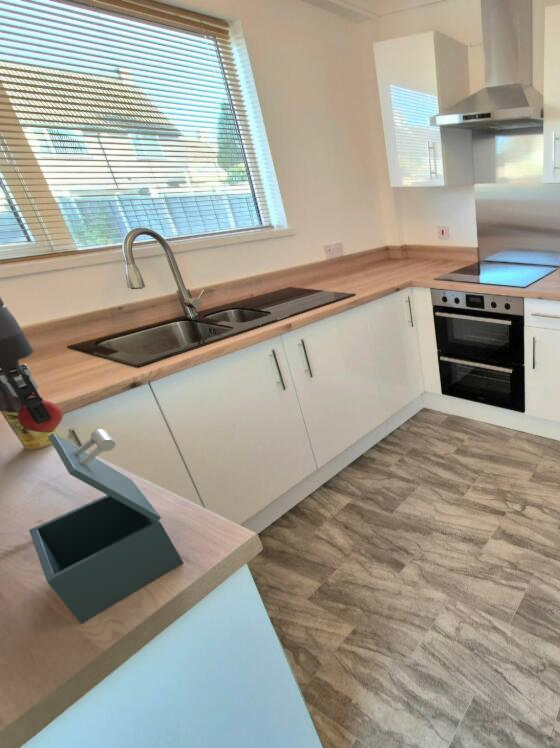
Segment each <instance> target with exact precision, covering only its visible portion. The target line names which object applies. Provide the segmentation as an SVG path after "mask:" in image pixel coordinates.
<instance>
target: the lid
mask: <svg viewBox="0 0 560 748" xmlns="http://www.w3.org/2000/svg"><path fill="white" fill-rule="evenodd" d="M48 437H49V439H50V441H51V442H52V446H53V448H54V450H55V451H56V453H57V454H58V457H59V459H60V460H61V462H62V463H63V465H64V467H65V469H66V470H67V473H68V474H69V475H70V476H72V477H73V478H75V479H77V480H79V481H81V482H83V483H85V484H86V485H88V486H90V487H92V488H94V489H96V490H97V491H99V492H101V493H103V494H104V495H105V496H106V495H108V496H110V497H112V498H114V499H116V500H117V501H119V502H121V503H123V504H125V505H126V506H128V507H130V508H132V509H134V510H135V511H137V512H139V513H141V514H143V515H145V516H146V517H148V518H150V519H152V520H154V521H155V522H157V521H160V520H161V519H162V517H161V516H160V513H158V511H157V510H156V509H155V508H154V506H153V505H152V504H151V502H150V501H149V500H148V499H147V497H146V496H145V495H144V493H143V492H142V490H140V488H139V487H138V486H137V484H136V483H135V482H134V480H132V479H131V478H129V477H127V476H126V475H125V474H123V473H121V472H120V471H118V470H116V469H114V468H113V467H111V466H109V465H108V464H107V463H105V462H103V461H101V460H100V459H98V458H96V457H97V456H99V455H100V454H101V453H103V452H109V451H112V450H114V449H115V448H116V444H117V443H116V441H115V440H114V439H113V437H111V435H110V434H109V433H108V432H107V430H106V429H102V428H99V429H95V430H93V431H92V432H91V434H90V438H89V439H88V440H87V441H85V442H84V443H83V444H81V445H80V446H76V445H75V444H73V443H72V442H70V441H68V440H67V439H65V438H63V437H62V436H61V437H60V436H58V435H57V434H55V433H53V434H51V435H50V436H48ZM94 445H96V446H97V447H96V448H94V449H93V450H92V451H90V452H89V453H88V452H86V451H87V450H89V449H90V448H91V447H92V446H94Z"/></svg>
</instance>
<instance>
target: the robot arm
mask: <svg viewBox="0 0 560 748" xmlns="http://www.w3.org/2000/svg"><path fill="white" fill-rule="evenodd" d="M33 354H34V349H33V347H32V345H31V344H30V342H29V339H28V338H27V336H26V335H25V333H24V331H23V329H22V328H21V326H20V325H19V323H18V321H17V319H16V318H15V316H14V315H13V314H12V312H11V311H10V309H9V308H8V307H7V305H6V304H5V302H4V300H3V299H2V297H1V296H0V379H1V381H2V382H3V383H5V384H6V385H7V387H8V388H9V390H10V392H11V393H12V395H13V396H16V397H19V399H20V400H21V402H22V403H21V404H22V406H24V407H26V408H27V410H28V412H29V413H30V415H31V416H32V418H33V420H34V421H35V423H37V424H40V423H43V422H46V421H49V420H51V416H50V414H49V413H48V411H47V409H46V408H45V406H44V404H43V403H42V402H43V401H42V400H44V399H43V397H42V396H40V394H39V392H38V391H39V390H40V388H39V386H38V384H37V383H36V381H35V379H34V378H33V372H32V370H31V369H30V368H29V366H28V365H27V364H26V363H23V364H20V360H22V359H26V358H29V357H31V355H33ZM22 396H23V397H22ZM30 396H34V397H33V398H29V399H28V397H30Z"/></svg>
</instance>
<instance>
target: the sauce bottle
mask: <svg viewBox="0 0 560 748" xmlns="http://www.w3.org/2000/svg"><path fill="white" fill-rule="evenodd" d="M22 397H23V396H22ZM21 403H22V402H21V400H20V399H19V397H16V396H13V395H12V393H11V392H10V390H9V388H8V387H7V385H6V384H5V383H3V382H2V381H1V379H0V413H1V414H2V417H4V419H5V420H6V422H7V424H8V426H9V427H10V428H11V430H12V432H13V433H14V434H15V436H16V437H17V439H18V441H19V442H20V443H21V445H22V447H23V448H24V449H25V450H27V451H37V450H39V449H43V448H47V447H49V446H53V444H52V442H51V441H50V439H49V437H48V436H50V435H51V434H53V433H55V434H57V435H58V436H60V437H62V435H61V434H60V432H59V431H58V429H57V427H56V428H55V430H54V431H53V432H51V433H46V432H36V431H31V430H27V429H25V428H23V427H22V426H21V425H20V423H19V421H18V411H19V409H20V408H21V406H22V404H21Z"/></svg>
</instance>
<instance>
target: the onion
mask: <svg viewBox="0 0 560 748" xmlns="http://www.w3.org/2000/svg"><path fill="white" fill-rule="evenodd" d="M33 397H34V396H30V397H28V399H29V398H33ZM42 401H43V402H42V403H43V404H44V406H45V408H46V409H47V411H48V413H49V414H50V416H51V420H49V421H46V422H43V423H40V424H37V423H35V421H34V420H33V418H32V416H31V415H30V413H29V412H28V410H27V408H26V407H24V406H21V408H20V409H19V411H18V421H19V423H20V425H21V426H22V427H23V428H25V429H27V430H31V431H36V432H46V433H51V432H53V431H54V430H55V428H56V429H57V428H58V426H59V425H60V424H61V422H62V420H63V417H64V414H63V412H62V409H61V408H60V407H59V405H57V404H56V403H54V402H52V401H48V400H44V399H43V400H42Z"/></svg>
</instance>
